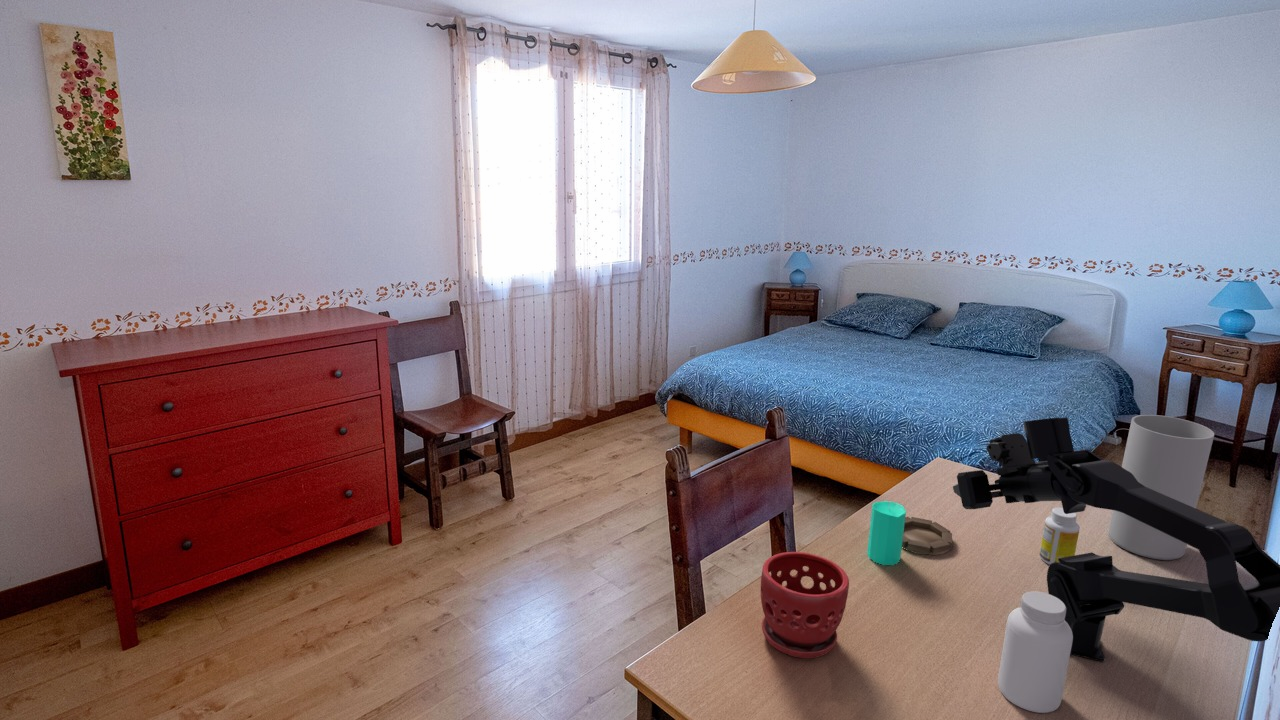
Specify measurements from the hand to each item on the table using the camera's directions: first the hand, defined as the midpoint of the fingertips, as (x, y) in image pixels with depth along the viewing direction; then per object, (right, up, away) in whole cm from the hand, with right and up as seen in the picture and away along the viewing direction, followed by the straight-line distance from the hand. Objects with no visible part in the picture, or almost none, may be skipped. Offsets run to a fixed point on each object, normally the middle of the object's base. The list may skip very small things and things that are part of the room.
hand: (975, 486), depth 128 cm
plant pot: (-36, -21, -18) cm, 46 cm away
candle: (-15, -15, +5) cm, 22 cm away
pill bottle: (-7, -24, -29) cm, 39 cm away
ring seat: (-6, -13, +11) cm, 18 cm away
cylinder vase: (+38, -13, +10) cm, 42 cm away
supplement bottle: (+17, -15, +4) cm, 23 cm away
